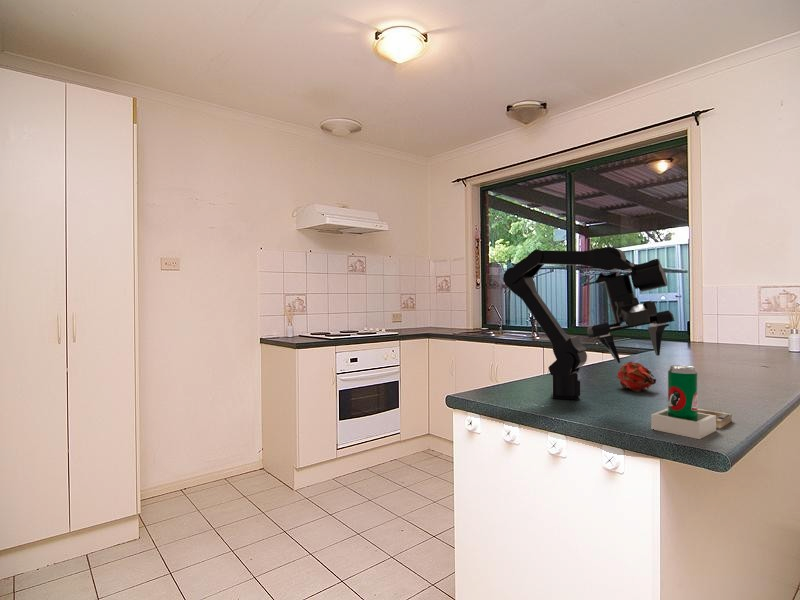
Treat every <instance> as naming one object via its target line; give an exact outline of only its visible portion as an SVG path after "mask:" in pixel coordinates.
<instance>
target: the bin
mask: <svg viewBox="0 0 800 600" xmlns="http://www.w3.org/2000/svg"><path fill="white" fill-rule="evenodd" d="M650 415H651V417H650V418H651V421H650V422H651V423H650V425H651V426H650V427H651V430H653V429H654V430H655V431H658V432H663V433H669V434H673V435H678V436H683V437H688V438H691V439H696V440H697V439H698V440H701V439H703V438H705V437H706V436H709V435H711V434H713V433H715V432H716V431H717V428H716V420H717V419H716V415H710V414H704V413H698V421H697V422H696V421H690V420H685V419H680V418H674V417H669V416H668V407H667V408H665V409H662V410H659V411H657V412H654V413H651V414H650Z"/></svg>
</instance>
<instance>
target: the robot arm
mask: <svg viewBox="0 0 800 600" xmlns="http://www.w3.org/2000/svg"><path fill="white" fill-rule="evenodd" d="M544 265H561V266H562V265H563V266H565V265H566V266H584V267H585V266H586V267H590V268H595V269H599V270H605V271H611V272H612V273H608V274H605V273H603V272H600V273H599V275H598V277H597V278H596V280H595V282H594V283H596V284H603V283H604V285H605V288H606V289H605V290H606V293H607V296H608V300H609V303H608V305H609V308H610V309H611V312H612V314H613V315H612V316H613V320H612V321H613V323H612V324H609V323H608V322H605V323H604V322H603V323H599V324H594V325H589V326H588V327H587V329H586V332H587V336H588V338H594V340H595V341H599V342H600V343H601V344H602V345H603V346H604V347H605V348H606V349H607V351H608V352H609V353H610V355H611V356H612V358H613V359H614V360H615V362H616V363H617V364H620V363H621V360H620V355H619V353H618V350H617V348H616V344H615V342H614V341H615V340H614V334H611V332H616V331H621V330H625V329H631V328H635V327H641V326H646V325H650V326H648V327H647V330H648V334H649V336H650V337H649V338H650V340H651V345H652V348H653V351H654V353H655V355H656V356H657V357H658V356H660V353H661V344H662V337H663V333H664V331H665V329H666V328H667V327H669V326H670V322H671V323H672V322H675V318H674V315H673V313H672V311H670V310H664V311H659V312H658V311H657V310H658V309H657V306H656V303H655V301H654V300H652V299H651V300H648V301H644V302H643V304H641V303H640V302H639V299H638V297H636V296H635V292H634V290H638V289H639V291H640V293H643V292H647V291H651V290H656V289H661V288H664V287H668V286H669V285H668V278H667V275H666V272H665V271H664V269H663V266H662V264H661V261H660V259H659V258H655V259H654V258H653V259H651V260H648V261H647V262H642V263H639V264H635V263H634V262H631V261H630V260H628V259H627V256H626V253H625V252H624V251H623V250H622V249H619V248H616V247H612V246H606V247H599V248H597V247H596V248H593V249H589V250H544V249H539V248H538V249H533V251H531V252H530V253H529V254H528V255H527V256H525V257H524V258H523V259H521V260H520V261H518V262H517V263H516V264H514V265H513V266H512V267H509V268H507V269H506V270H505V272H504V273H503V278H502V281H503V284H504V285H505V286H506V288H508V289H509V290H510V291H511V292H512V293H513V294H515V295H516V296H517V297H518V298H519V299H520V300H522V301H523V303H524V304H525V306H526V307H527V308H528V310H529V312H530V313H531V314H532V316H533V317H534V319H535V321H536V322H537V324H538V325H539V326H540V328H541V330H542V331H543V332H544V334H545V336H546V337H547V339H548V340H549V342H550V344H551V349H552V352H553V355H554V357H555V361H553V363H551V364H550V365H549V366H548V368H547V369H548V371H549V373H550V374H549V375H550V376H551V381H552V382H551V384H552V387H551V388H552V392H551V397H552V399H559V400H577V401H578V400H580V396H581V380H580V379H579V378H578V377H579V375H578V373H579V371H580V369H581V367H583V366H585V364H586V362H587V360H588V359H587V358H588V354H587V352H586V350H587V347H586V346H584V345H583V344H582V343H581V339H580V338H579V337H578V336H573V337H571V336H569V335H568V334H567V333H566V331H565V330H564V329H563V327H562V325H561V324H560V323H559V322H558V320H557V319H556V318H555V316H554V314H553V313H552V312H551V310H550V308H549V307H548V306H547V304H546V303H545V302H544V300H543V299H542V297H541V296H540V294H539V293H538V290H537V286H536V282H535V280H534V277H535V276H536V275H537V274H538V273H539V271H540V270H541V269H542V267H543V266H544ZM617 271H624V272H628V273H623V274H620V273H619V272H617ZM632 285H633V286H632ZM633 288H634V289H633ZM623 323H625V324H623Z"/></svg>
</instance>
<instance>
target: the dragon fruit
mask: <svg viewBox="0 0 800 600" xmlns="http://www.w3.org/2000/svg"><path fill="white" fill-rule="evenodd" d="M616 378H617V379H619V383H620V385H621V387H622V388H623V389H624V388H629V389H630V390H632V391H633V392H637V393H638V392H640V393H641V392H643V390H645V389H647V390H650V389H649V388H650V387H652V385H655V384H656V382H657V378H655V376H654V375H653V374H652V371H650V369H648V368H646V367H645V366H644V365H643V364H642V363H640V362H633V361H628V362H626V363H624V364H623V365H622V366H621V367H620V368H619V371H618V372H617V375H616ZM641 389H642V390H641Z"/></svg>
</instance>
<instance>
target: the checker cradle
mask: <svg viewBox="0 0 800 600" xmlns="http://www.w3.org/2000/svg"><path fill="white" fill-rule="evenodd" d="M698 413H704V414H710V415H716V429H722V428H723V427H725V426H727V425H729V423H731V422H732V420H733V419H732V413H728V412H720V411H715V410H708V409H702V408H698Z"/></svg>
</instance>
